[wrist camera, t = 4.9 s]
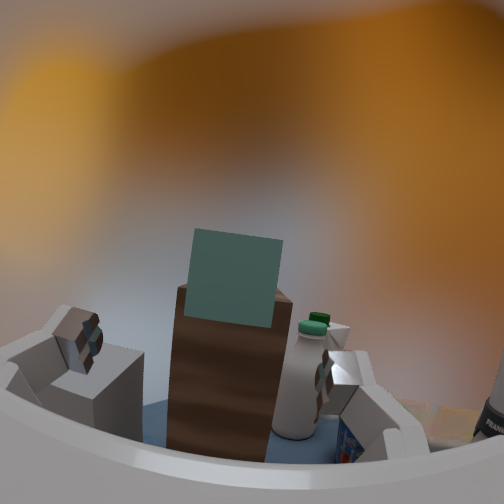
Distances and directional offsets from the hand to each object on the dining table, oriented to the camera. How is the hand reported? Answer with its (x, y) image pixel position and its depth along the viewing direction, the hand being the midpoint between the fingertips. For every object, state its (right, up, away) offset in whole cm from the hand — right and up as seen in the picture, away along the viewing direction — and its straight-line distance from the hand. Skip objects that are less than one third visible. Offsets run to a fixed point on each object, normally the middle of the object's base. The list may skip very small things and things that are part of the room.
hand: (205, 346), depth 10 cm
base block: (-18, -24, +16) cm, 34 cm away
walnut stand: (-3, -26, +18) cm, 32 cm away
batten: (0, 0, +13) cm, 13 cm away
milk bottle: (+9, -28, +37) cm, 47 cm away
